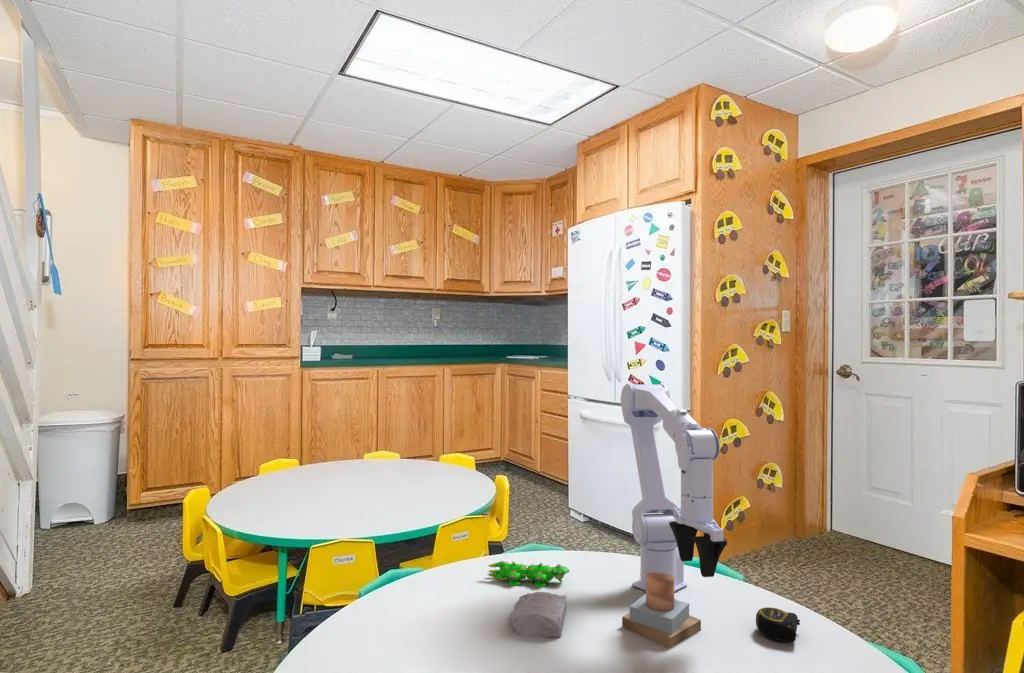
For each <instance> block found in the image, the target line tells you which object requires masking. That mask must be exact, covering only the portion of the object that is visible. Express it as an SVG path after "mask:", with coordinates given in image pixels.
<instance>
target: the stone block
mask: <svg viewBox="0 0 1024 673" xmlns="http://www.w3.org/2000/svg"><path fill="white" fill-rule="evenodd" d="M567 604H568V603H567V596H566V595H565V594H564V595H559V594H556V593H552V592H551V593H550V592H544V591H536V592H532V593H529V592H527V593H526V594H523V595H521V596H519V599H518V600H517V601H516V602H515V604H514V606H513V608H512V610H511V613H510V615H511V625H512V629H513V631H514V633H516V634H517V635H520V636H522V635H523V636H525V637H526V636H527V637H544V638H557V639H558V638H559V639H560V638H561V637H562V634H563V628H564V622H565V618H566V614H567Z"/></svg>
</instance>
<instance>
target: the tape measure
mask: <svg viewBox="0 0 1024 673" xmlns="http://www.w3.org/2000/svg"><path fill="white" fill-rule="evenodd" d="M755 614H756V615H755V626H756V628H757V631H758V632H759V633H761V635H763V636H764V637H766V638H769V639H772V640H775V641H782V642H789V643H790V642H793V643H794V642H795V641H796V640H797V639H796V638H797V637H796V636H797V629H798V626H800V625H801V620H800V619H798V616H797V614H796V613H794V612H787V611H785V610H782V609H780V608H776V607H762V608H760V609H758V611H757V612H756V613H755Z"/></svg>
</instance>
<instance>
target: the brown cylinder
mask: <svg viewBox="0 0 1024 673" xmlns="http://www.w3.org/2000/svg"><path fill="white" fill-rule="evenodd" d="M645 594H646V605H647V606H648V607H649V608H651V609H653V610H656V611H671V610H673V609H674V599H675V592H674V577H673V576H671V575H669V574H666V573H662V572H651V573H648V574H647V575H646V591H645Z"/></svg>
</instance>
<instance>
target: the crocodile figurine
mask: <svg viewBox="0 0 1024 673" xmlns="http://www.w3.org/2000/svg"><path fill="white" fill-rule="evenodd" d="M487 567H489V568H494V569H490V570H487V571H488V572H489V573H487V574H486V575H487V576H489V577H491V578H496V579H498V580H500V581H503V580H504V581H505V580H506V581H508V580H509V582H508V585H510V586H514V587H516V586H517V587H518V586H520V582H521V581H523V580H529V581H530V582H533V581H535V583H534V584H533V585H534V586H535V587H539V588H544V587H546V586H547V585H546V584H547V583H548V584H549V583H550V581H552V580H553V578H555V579H556V580H558V581H559V582H560V583H563V578H564V577H565V575H566V574H568V573H569V572H570V571H571V570H570V569H569V568H568V567H567V566H564V565H562V564H560V563H558V564H556V566H549V564H547V565H544V563H542V562H540V563H539V564H533V563H531V564H530V565H526V564H524V563H521V564H519V563H516V562H515V561H513V560H512V561H511V563H509V562H507V561H505V560H501V561H498V562H496V563H495V562H493V563H490V564H488V565H487ZM496 568H499V569H496Z"/></svg>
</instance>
